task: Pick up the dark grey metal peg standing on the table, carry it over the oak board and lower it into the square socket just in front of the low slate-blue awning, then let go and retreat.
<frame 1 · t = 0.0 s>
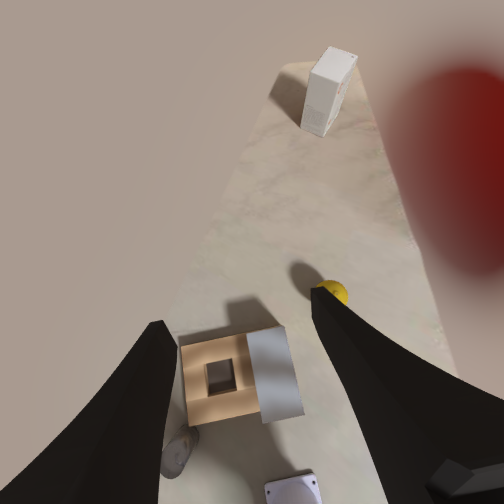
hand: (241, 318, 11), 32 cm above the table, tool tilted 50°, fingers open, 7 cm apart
socket board: (238, 370, 39), on the table
small box: (318, 122, 55), on the table
peg: (188, 436, 37), on the table
lemon: (323, 298, 43), on the table
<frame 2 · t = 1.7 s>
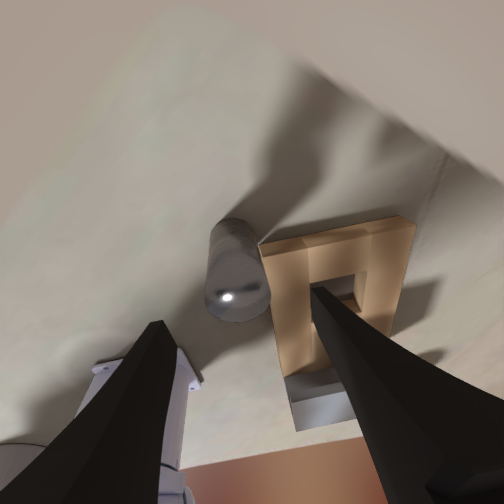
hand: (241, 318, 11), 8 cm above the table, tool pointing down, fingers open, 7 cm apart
socket board: (328, 306, 23), on the table
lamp: (23, 457, 32), on the table
peg: (232, 239, 18), on the table
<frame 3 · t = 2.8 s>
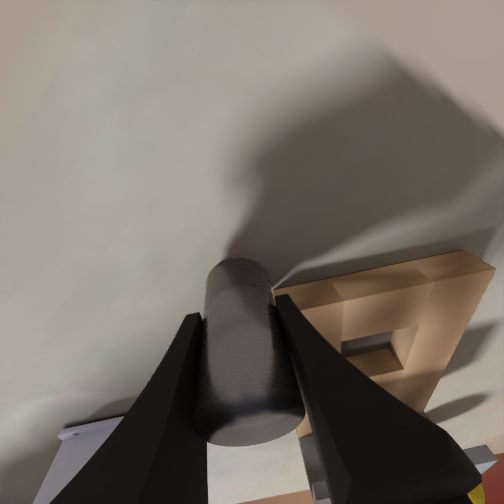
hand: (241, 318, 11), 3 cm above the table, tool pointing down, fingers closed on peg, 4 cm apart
socket board: (356, 356, 19), on the table
peg: (237, 284, 13), on the table, touching gripper
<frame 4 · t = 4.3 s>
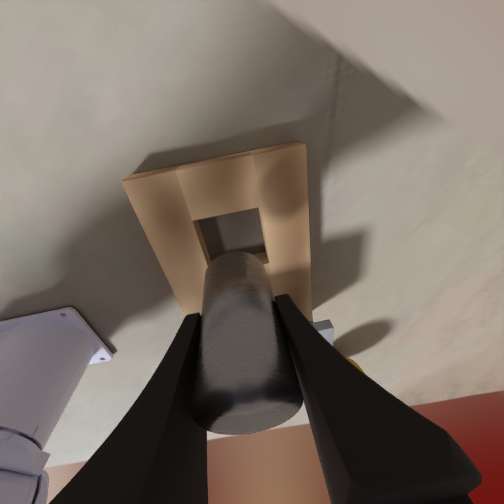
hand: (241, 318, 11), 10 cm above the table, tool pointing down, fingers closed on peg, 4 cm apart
socket board: (239, 260, 21), on the table
peg: (235, 277, 13), point 7 cm above the table, touching gripper
when the fingers open (3 cm above the table, at t = 5.8 s): peg stays where it is, resting on socket board.
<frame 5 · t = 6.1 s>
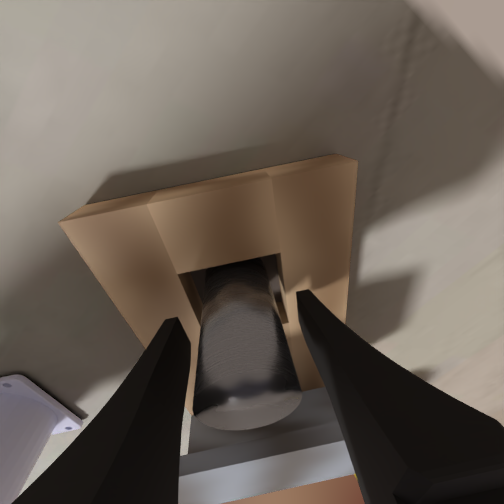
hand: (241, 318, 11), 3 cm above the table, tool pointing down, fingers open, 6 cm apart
socket board: (246, 312, 15), on the table
peg: (236, 276, 13), resting on socket board
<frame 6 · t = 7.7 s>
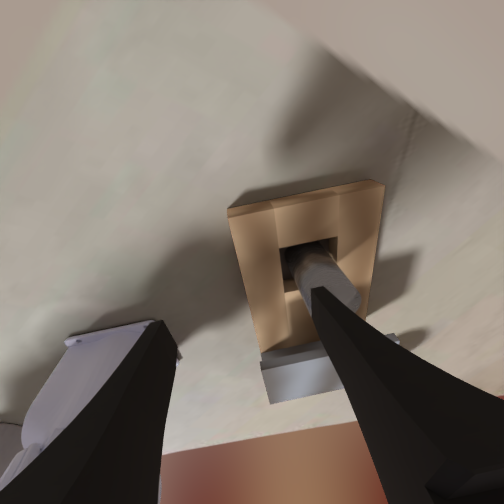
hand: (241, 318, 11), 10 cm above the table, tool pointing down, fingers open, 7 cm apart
socket board: (303, 278, 23), on the table
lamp: (3, 438, 32), on the table
peg: (303, 252, 21), resting on socket board
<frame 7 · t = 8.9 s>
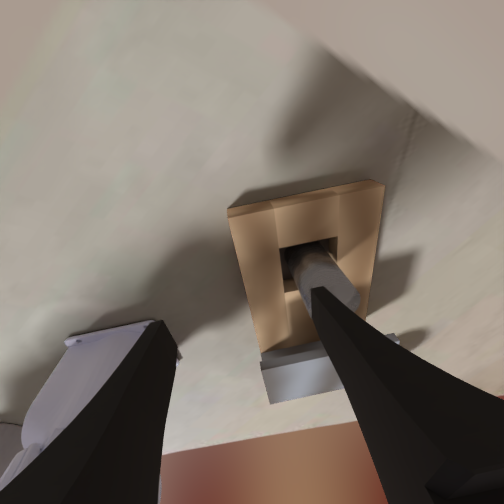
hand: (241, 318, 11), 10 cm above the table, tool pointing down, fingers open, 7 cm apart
socket board: (303, 278, 23), on the table
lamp: (3, 438, 32), on the table
peg: (303, 252, 21), resting on socket board
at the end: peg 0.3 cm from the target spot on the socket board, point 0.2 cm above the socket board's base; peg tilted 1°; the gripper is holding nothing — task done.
